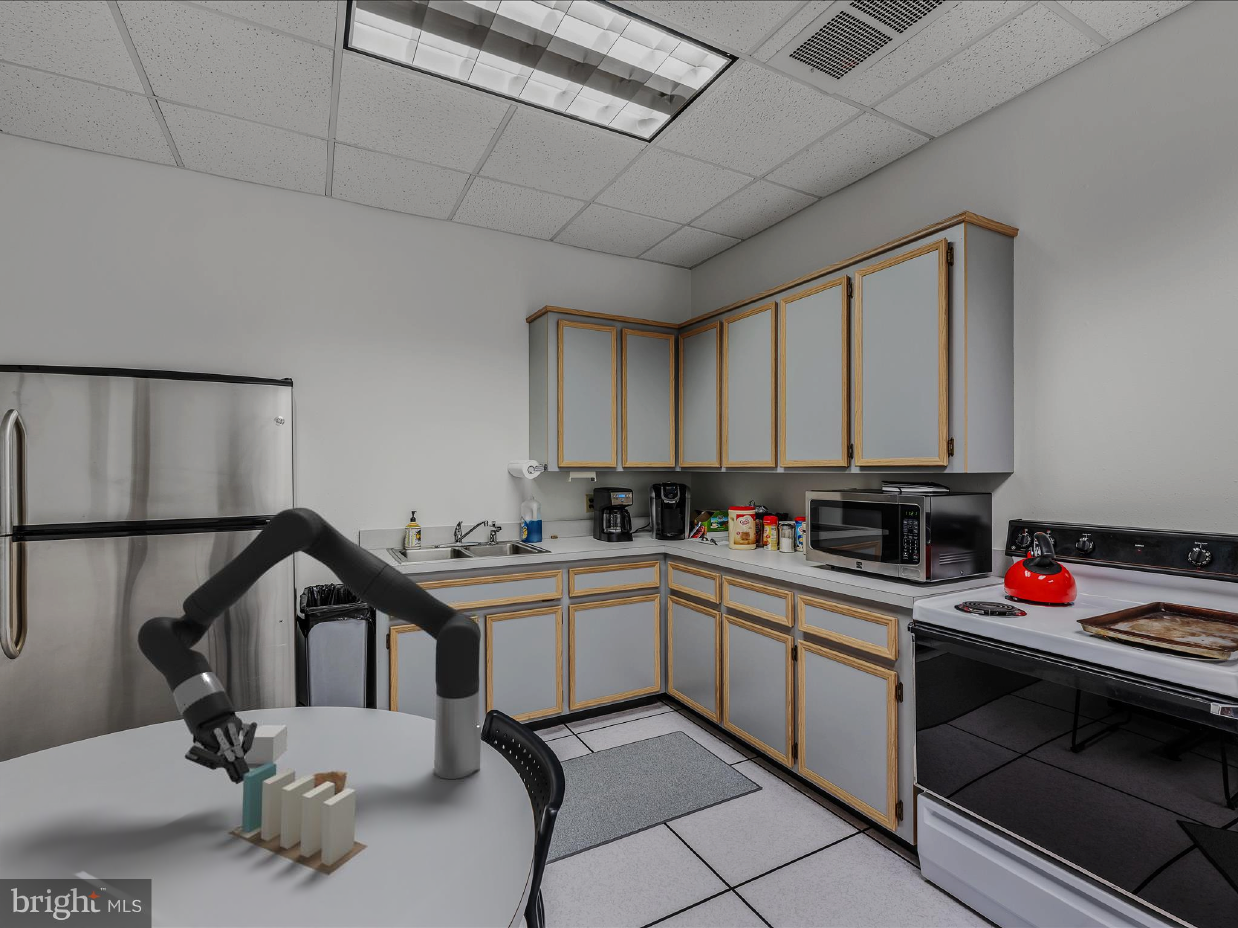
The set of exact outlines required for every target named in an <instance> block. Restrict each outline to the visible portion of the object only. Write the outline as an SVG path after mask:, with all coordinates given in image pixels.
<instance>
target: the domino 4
mask: <svg viewBox="0 0 1238 928" xmlns="http://www.w3.org/2000/svg"><path fill="white" fill-rule="evenodd" d="M355 815H356V789H353V788H350V787H347V788H345V789H343V791H342V792H340V793H338V794H337V795H335V796H333V797H332V798H330V799H328V800H327V801H325V802H323V826H322V862H321V863H323V864H325V865H328V866H330V865H331V864H333V863H334V862H336V861H337V860H338V859H340V858H341V857H343V856H344V855H345V854H347V853H348V852H350V851H351V850H352V849H354V841H355V823H356V820H355V817H356V816H355Z"/></svg>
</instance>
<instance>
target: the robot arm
mask: <svg viewBox="0 0 1238 928" xmlns="http://www.w3.org/2000/svg"><path fill="white" fill-rule="evenodd" d="M300 552H302V553H304V554H306V555H308V556H310V557H311V558H313V559H314V560H316V561H318V562H320V563H321V564H323V565H324V566H325V567H327V568H328V569H330V571H331V572H332V573H333V574H334V576H336V577H337V579H338V580H339V581H340V582H341V583H342V584H343V586H344V587H346V589H347V590H348V591H350V593H351V594H352V595H354V596H355V597H356V598H358V599H359V600H361V601H362V602H364V603H365V604H367V605H368V606H369V607H371V608H373V609H374V610H376V611H378V612H380V613H382V614H384V615H386V616H389V617H392V618H395V619H398V620H401V621H404V622H407V623H410V624H413V625H415V626H416V627H417V628H419V629H421V630H422V631H424V632H425V633H426V634H428V635H429V636H430V637H432V638H433V639H434V640H435V641H436V643H435V678H434V679H435V686H436V688H435V689H436V690H435V722H434V723H435V724H434V725H435V727H434V728H435V731H434V733H435V734H434V762H433V765H434V768H433V771H434V774H435V775H436V776H437V777H439V778H442V779H447V780H455V779H461V778H465V777H467V776H469V775H471V774H473V773H474V772H476V771H479V770H480V769H481V745H482V744H481V743H482V725H480V723H479V707H480V706H479V700H480V654H481V653H480V650H481V649H480V647H481V637H482V635H481V628H480V626H479V624H478V623H477V622H476V620H474V618H472V617H470V616H469V615H467V614H465V613H464V612H461V611H459V610H458V609H456V608H454V607H452V606H449V605H448V604H446V603H444V602H442V601H441V600H439V599H438V598H436V597H435V596H434V595H432V594H431V593H429V592H428V591H427V590H426V589H424V588H423V587H422V586H420V584H418V583H416V582H415V581H413V580H412V579H411V578H409V577H408V576H406V575H405V574H404V573H403V572H402V571H400V570H399V569H397V568H395V567H394V566H392V565H391V564H390V563H388V562H386V561H385V560H383V559H381V558H380V557H378V556H377V555H375V554H373V553H372V552H371V551H369V550H367V549H366V548H363V547H362V546H360V545H358V544H356V543H355V542H354V541H351V540H350V539H349V538H348V537H346V536H345V535H344V534H342V533H341V532H340V531H338V530H337V529H336V527H334V526H333V525H331V524H330V522H328V521H327V520H326V519H325V518H323V517H322V516H321V515H320V514H319V513H317V512H316V511H314V510H312V509H309V508H308V507H307V508H306V507H293V508H287V509H284V510H282V511H280V512H278V513H276V514H275V515H274V516H273V517H272V518H271V519H270V520H269V522H267V524H266V525H265V526H264V527H263V528H262V529H261V531H260V532H258V534H257V535H256V537H255V538H254V539H253V540H251V542H250V543H249V544H248V545H247V546H246V547H245V548H244V549H243V550H242V551H241V552H239V554H238V555H237V556H236V557H234V558H233V559H232V560H231V561H230V562H228V563H227V564H226V565H225V566H223V567H222V568H221V569H220V570H218V572H216V573H215V574H214V575H212V576H211V577H210V578H209V579H207V580H206V581H205V582H204V583H202V585H200V586H199V587H198V588H197V589H196V590H194V591H193V592H191V593H190V594H189V595H188V596H187V598H185V600H184V601H183V604H182V610H183V613H184V614H183V615H182V616H180V617H172V616H171V617H170V616H158V617H157V616H156V617H153V618H150V619H148V620H146V621H145V622H144V623H143V624H142V625H141V627H140V628H139V631H138V635H137V643H138V647H139V649H140V651H141V653H142V654H143V656H144V657H145V658H146V659H147V660H148V661H149V662H150V663H151V665H153V667H154V668H155V669H157V671H158V672H159V673H161V675H163V676H164V678H165V680H166V683H167V685H168V687H169V689H170V691H171V692H172V693H171V694H172V695H173V697H174V701H175V704H176V707H177V710H178V712H179V713H180V715H181V717H182V718H183V720H184V722H185V725H186V727H187V729H188V730H189V733H190V734H191V735H192V742H193V743H192V744H193V745H192V746H191V747H190V748H189V750H188V751H187V752H186V753H185V755H184V758H185V760H188V761H191V762H193V763H195V764H198V765H199V766H202V767H205V768H207V769H210V770H212V771H214V770H217V769H220V768H223V769H224V770H225V771H226V774H227V776H228V777H229V779H230V781H231V782H232V783H235V784H236V785H239V783H242V782H243V780H244V774H246V773H248V772H250V768H249V765H248V764H247V763H246V762H245V755H246V754H247V752H248V751H249V750H250V749H251V747H252V743H253V739H254V736H255V732H256V729H257V728H258V723H257V722H255V721H253V722H251V723H250V724H249V723H245V722H243V721H242V719H241V718H240V717H238V716H237V715H236V710H235V708H234V706H233V704H232V701H231V700H230V697H229V696H228V694H227V692H226V690H225V688H224V686H223V685H222V683H221V681H220V680H219V678H218V677H217V676H216V675H215V673H214V671H213V669H212V667H211V666H210V663H209V661H208V660H207V658H206V657H205V655H204V654H203V653H201V652H199V651H197V650H194V649H192V648H193V647H195V646H196V645H198V643H199V642H200V641H201V640H202V638H203V637H204V635H206V633H207V632H208V631H209V629H210V628H211V626H212V625H213V624H214V622H215V621H216V620H217V619H218V618H219V617H220V616H221V615H222V614H224V613H225V612H226V611H228V609H230V608H231V607H232V606H233V605H234V604H235V603H236V602H238V601H239V600H240V599H241V598H242V597H244V596H245V594H246V593H247V592H248V591H249V590H250V589H251V587H253V585H254V584H256V582H257V581H258V580H259V579H260V578H261V577H262V576H263V575H264V574H265V573H266V572H268V571H269V570H271V568H273V567H274V566H275V565H277V564H279V563H280V562H281V561H283V560H285V559H286V558H289V557H290V556H291V555H293V554H295V553H300ZM240 735H241V737H242V740H241V739H240Z"/></svg>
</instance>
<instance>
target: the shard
mask: <svg viewBox="0 0 1238 928" xmlns="http://www.w3.org/2000/svg"><path fill="white" fill-rule="evenodd" d="M347 774H348V773H347V772H345V771H338V770H337V771H328V772H327V771H326V772H318V773H314V774H313V775H312V776H313V777H315V782H314V788H316V787H318V786H320V785H322V784H323V783H325V782H327V781H328V782H331V783H334V784H335V790H334V796H335V795H337V794H338V793H340V792H342V791H344V787H345V786H346V781H347V778H348V777H347Z"/></svg>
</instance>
